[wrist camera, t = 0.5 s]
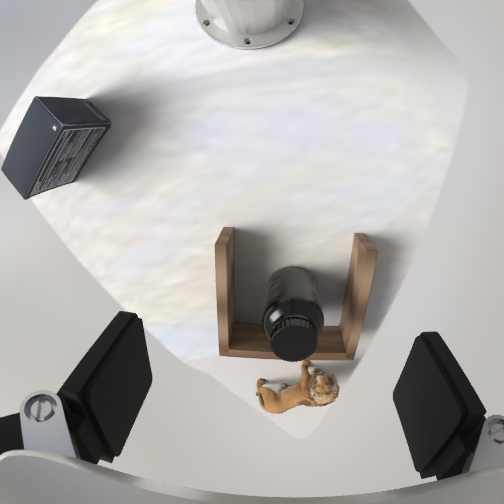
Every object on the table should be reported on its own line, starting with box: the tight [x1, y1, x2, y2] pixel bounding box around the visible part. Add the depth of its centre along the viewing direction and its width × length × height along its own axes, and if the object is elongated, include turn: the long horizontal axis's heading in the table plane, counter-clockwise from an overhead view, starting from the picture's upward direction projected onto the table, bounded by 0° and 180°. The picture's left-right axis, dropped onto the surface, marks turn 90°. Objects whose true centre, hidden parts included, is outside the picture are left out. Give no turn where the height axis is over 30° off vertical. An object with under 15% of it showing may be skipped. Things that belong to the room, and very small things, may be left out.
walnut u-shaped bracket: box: [215, 227, 377, 360], centre depth 38 cm, size 15×17×6 cm
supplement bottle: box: [262, 267, 324, 362], centre depth 35 cm, size 7×7×12 cm
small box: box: [1, 96, 111, 200], centre depth 30 cm, size 11×6×10 cm, turn 136°
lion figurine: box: [256, 360, 339, 413], centre depth 42 cm, size 15×5×9 cm, turn 131°
